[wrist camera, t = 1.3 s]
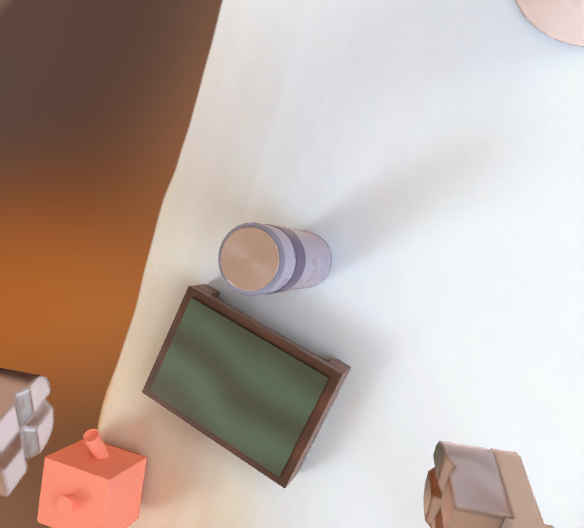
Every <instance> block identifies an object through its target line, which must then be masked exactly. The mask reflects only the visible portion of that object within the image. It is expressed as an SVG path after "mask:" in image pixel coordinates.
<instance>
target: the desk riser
mask: <svg viewBox="0 0 584 528" xmlns="http://www.w3.org/2000/svg"><path fill="white" fill-rule="evenodd" d="M219 293H220V292H218V291H217V290H215V289H213V288H211V287H210V286H208V285H206V284H205V285H195V286H189V287H188V289H187V291H186V294H185V296H184V298H183V300H182V303H181V305H180V307H179V309H178V312H177V314H176V316H175V318H174V321H173V323H172V325H171V328H170V330H169V332H168V334H167V337H166V339H165V341H164V343H163V346H162V348H161V350H160V352H159V355H158V357H157V359H156V362H155V364H154V366H153V368H152V371H151V373H150V375H149V377H148V380H147V382H146V384H145V386H144V389H143V391H142V392H143V393H144V394H146V395H147V396H149V397H150V398H152V399H153V400H155V401H156V402H157V403H159V404H160V405H162V406H163V407H165V408H166V409H168V410H169V411H171V412H172V413H174V414H175V415H177V416H178V417H180V418H181V419H183V420H184V421H186V422H187V423H189V424H190V425H192V426H193V427H194V428H196V429H197V430H199V431H200V432H202V433H203V434H205V435H206V436H208V437H209V438H211V439H212V440H214V441H215V442H217V443H218V444H220V445H221V446H223V447H224V448H226V449H227V450H229V451H230V452H232V453H233V454H234V455H236V456H237V457H239V458H240V459H242V460H243V461H245V462H246V463H248V464H249V465H251V466H252V467H254V468H255V469H257V470H258V471H260V472H261V473H263V474H264V475H266V476H267V477H269V478H270V479H272V480H273V481H274V482H276V483H277V484H279V485H280V486H282V487H283V488H286V487H287V485H288V484H289V483H290V482H291V481H292V480H293V478H294V477H295V476H296V475H297V473H298V471H299V469H300V467H301V465H302V463H303V461H304V459H305V457H306V455H307V453H308V451H309V449H310V447H311V445H312V443H313V441H314V439H315V438H316V436H317V434H318V432H319V430H320V428H321V426H322V424H323V422H324V420H325V418H326V416H327V414H328V412H329V410H330V408H331V406H332V404H333V402H334V400H335V398H336V396H337V394H338V392H339V390H340V388H341V386H342V384H343V382H344V380H345V378H346V376H347V374H348V372H349V370H350V368H351V367H350V366H348V365H346V364H344V363H343V362H341V361H339V360H337V359H336V358H334V359H332V360H331V361H329V362H327V361H325V360H323V359H322V358H320V357H318V356H316V355H315V354H313V353H311V352H309V351H308V350H306V349H304V348H302V347H301V346H299V345H297V344H296V343H294V342H292V341H290V340H289V339H287V338H285V337H283V336H282V335H280V334H278V333H276V332H275V331H273V330H271V329H270V328H268V327H266V326H264V325H263V324H261V323H259V322H257V321H256V320H254V319H252V318H250V317H249V316H247V315H245V314H244V313H242V312H240V311H238V310H237V309H235V308H233V307H231V306H230V305H228V304H226V303H224V302H223V301H221V300H219V299H218V298H217V297H218V295H219Z"/></svg>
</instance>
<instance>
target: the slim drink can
mask: <svg viewBox="0 0 584 528" xmlns="http://www.w3.org/2000/svg"><path fill="white" fill-rule="evenodd" d="M218 261H219V268H220V271H221V274H222V276H223V278H224V280H225V281H226V283H227V284H228V285H229V286H230V287H231V288H232V289H234V290H235V291H237V292H239V293H241V294H244V295H261V294H272V293H278V292H283V291H287V290H294V289H300V288H307V287H312V286H315V285H317V284H319V283H320V282H322V281H323V280H324V279H325V278H326V276H327V275H328V273H329V271H330V268H331V264H332V256H331V251H330V249H329V247H328V245H327V243H326V242H325V241H324V240H323V239H322V238H321V237H319V236H318V235H316V234H313V233H309V232H303V231H298V230H292V229H287V228H284V227H279V226H274V225H268V224H260V223H245V224H242V225H239V226H237V227H235V228H234V229H233V230H231V231H230V232H229V233H228V234H227V236H226V237H225V238H224V240H223V242H222V244H221V247H220V250H219V260H218Z"/></svg>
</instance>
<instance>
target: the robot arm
mask: <svg viewBox="0 0 584 528" xmlns="http://www.w3.org/2000/svg"><path fill="white" fill-rule="evenodd" d="M516 1H517V4H518V6H519V8H520V9H521V11H522V12H523V14H524V15H525V17H526V18H527V19H528V20H529V21H530V22H531V23H532V24H533V25H534V26H535V27H536V28H537V29H539V30H540V31H541V32H543V33H544V34H546V35H548V36H550V37H552V38H554V39H556V40H558V41H561V42H564V43H568V44H571V45H576V46H583V47H584V0H516ZM50 392H51V390H50V385H49V379H47V378H46V377H44V376H40V375H35V374H29V373H24V372H19V371H14V370H9V369H4V368H0V496H6V497H8V496H9V494H10V493H11V492H12V490H13V489H14V488H15V486H16V485H17V484H18V482H19V481H20V480H21V478H22V477H23V475H24V474H25V473H26V471H27V460H28V459H30V458H31V457H33V456H35V455H37V454H39V453H40V452H41V451H42V449H43V448H44V447H45V445H46V444H47V442H48V440H49V437H50V434H51V432H52V429H53V424H54V411H53V407H52V406H51V405H50V404H49V403H48V401H47V400H46V399H45V398H46V397H47V396H48V394H49V393H50ZM433 456H434V463H435V467H434V468H433V469H431V470H430V471H428V475H427V479H426V483H425V490H424V515H425V521H426V522H427V523H428V525H429V526H430V527H431V528H554V527H553V526H551V525H546V524H544V522H543V519H542V517H541V514H540V511H539V508H538V505H537V502H536V500H535V497H534V494H533V491H532V488H531V485H530V483H529V480H528V477H527V474H526V471H525V468H524V466H523V463H522V460H521V457H520V456H519V455H518V454H517V453H516V452H510V451H503V450H497V449H488V448H482V447H475V446H469V445H462V444H456V443H450V442H443V441H439V442H438V444H437V445H436V448H435V451H434V455H433Z"/></svg>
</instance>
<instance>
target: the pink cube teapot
mask: <svg viewBox="0 0 584 528" xmlns="http://www.w3.org/2000/svg"><path fill="white" fill-rule="evenodd" d="M146 460H147V457H144V456H141V455H139V454H137V453H132V452H129V451H126V450H123V449H120V448H117V447H114V446H110V445H108V444H106V443H104V442H103V440H102V438H101V436H100V434H99V432H98V430H97V429H90V430H88V431H86V432H85V434H84V435H83V440H81V441H79V442H77V443H75V444H72V445H70V446H68V447H66V448H63V449H61V450H59V451H57V452H55V453H52V454H50V455H48V456H46V457H45V464H44V470H43V471H44V472H43V479H42V486H41V493H40V502H39V510H38V519H37V521H38V522H40V523H42V524H44V525H47V526H49V527H52V528H126V527H128V526H129V525H130V524H132V523H133V522H134V521H136V520H137V519H138V518H139V511H140V504H141V496H142V489H143V482H144V475H145V467H146Z"/></svg>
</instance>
